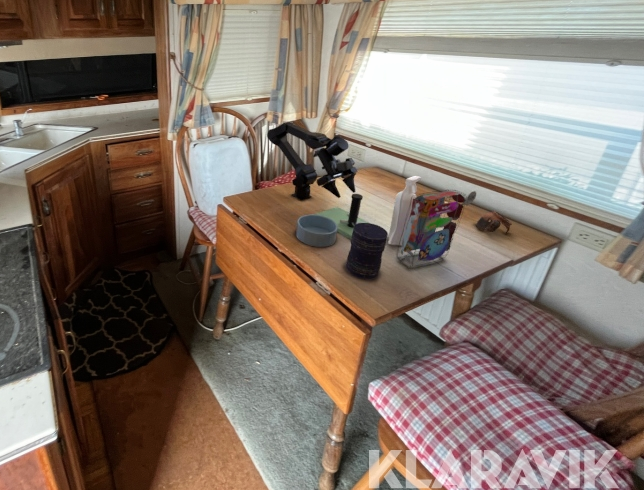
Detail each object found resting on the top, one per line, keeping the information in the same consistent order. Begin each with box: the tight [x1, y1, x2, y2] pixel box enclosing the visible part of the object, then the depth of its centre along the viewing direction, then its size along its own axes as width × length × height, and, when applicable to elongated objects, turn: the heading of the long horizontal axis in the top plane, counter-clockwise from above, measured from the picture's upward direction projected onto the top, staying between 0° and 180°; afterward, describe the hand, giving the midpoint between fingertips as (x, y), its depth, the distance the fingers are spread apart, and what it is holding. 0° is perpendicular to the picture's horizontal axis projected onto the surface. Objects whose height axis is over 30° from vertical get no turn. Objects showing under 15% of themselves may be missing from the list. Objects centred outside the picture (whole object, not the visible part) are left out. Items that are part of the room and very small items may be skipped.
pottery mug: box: [475, 210, 513, 234], centre depth 136 cm, size 12×10×8 cm
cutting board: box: [313, 206, 370, 240], centre depth 143 cm, size 20×14×2 cm
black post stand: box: [340, 193, 364, 228], centre depth 136 cm, size 9×8×13 cm
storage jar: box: [345, 222, 389, 281], centre depth 113 cm, size 10×10×18 cm
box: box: [395, 189, 477, 269], centre depth 117 cm, size 25×6×24 cm, turn 108°
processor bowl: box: [295, 214, 338, 248], centre depth 134 cm, size 14×14×6 cm
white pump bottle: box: [387, 175, 422, 247], centre depth 126 cm, size 7×12×25 cm, turn 126°
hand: (347, 194), depth 144 cm, fingers open, 9 cm apart
